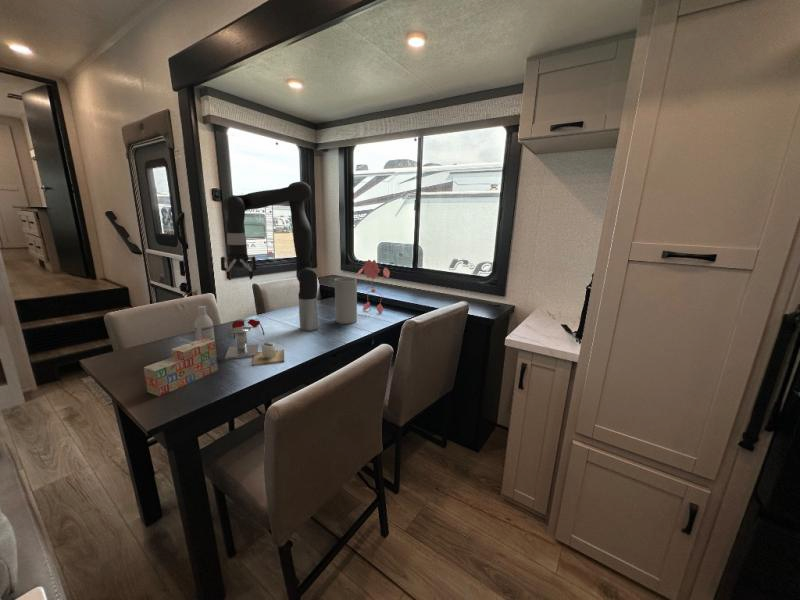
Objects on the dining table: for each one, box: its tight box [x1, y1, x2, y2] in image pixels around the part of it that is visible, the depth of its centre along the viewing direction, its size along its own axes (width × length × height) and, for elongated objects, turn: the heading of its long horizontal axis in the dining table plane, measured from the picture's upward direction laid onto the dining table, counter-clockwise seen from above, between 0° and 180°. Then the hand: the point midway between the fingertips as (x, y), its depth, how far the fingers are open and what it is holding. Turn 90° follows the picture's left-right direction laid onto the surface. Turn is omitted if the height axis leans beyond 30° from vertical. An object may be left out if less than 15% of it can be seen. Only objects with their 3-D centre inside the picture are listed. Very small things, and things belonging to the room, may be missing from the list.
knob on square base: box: [224, 326, 259, 361], centre depth 136 cm, size 12×12×11 cm
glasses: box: [231, 318, 265, 340], centre depth 163 cm, size 14×16×5 cm
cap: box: [261, 342, 278, 359], centre depth 133 cm, size 5×7×6 cm
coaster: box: [251, 348, 285, 366], centre depth 133 cm, size 12×12×1 cm
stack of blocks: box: [143, 339, 219, 397], centre depth 112 cm, size 21×6×12 cm, turn 158°
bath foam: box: [193, 305, 216, 347], centre depth 137 cm, size 7×7×20 cm
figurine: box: [355, 259, 391, 318], centre depth 199 cm, size 15×26×35 cm, turn 61°
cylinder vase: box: [334, 277, 358, 325], centre depth 184 cm, size 12×12×25 cm
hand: (240, 279), depth 143 cm, fingers open, 8 cm apart
